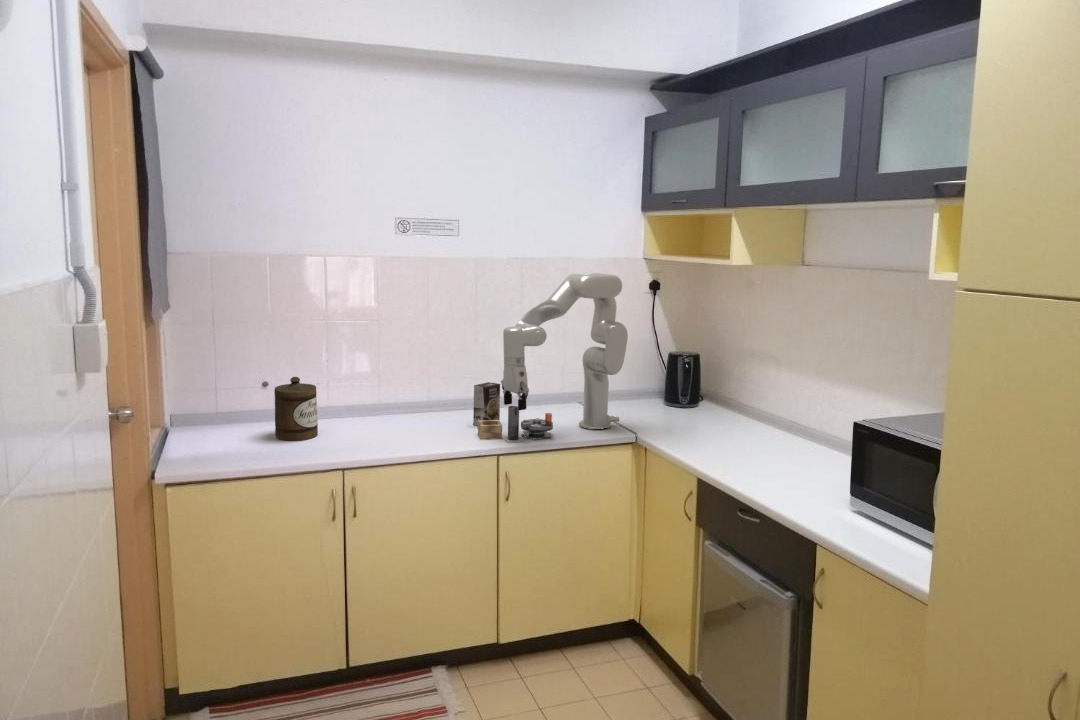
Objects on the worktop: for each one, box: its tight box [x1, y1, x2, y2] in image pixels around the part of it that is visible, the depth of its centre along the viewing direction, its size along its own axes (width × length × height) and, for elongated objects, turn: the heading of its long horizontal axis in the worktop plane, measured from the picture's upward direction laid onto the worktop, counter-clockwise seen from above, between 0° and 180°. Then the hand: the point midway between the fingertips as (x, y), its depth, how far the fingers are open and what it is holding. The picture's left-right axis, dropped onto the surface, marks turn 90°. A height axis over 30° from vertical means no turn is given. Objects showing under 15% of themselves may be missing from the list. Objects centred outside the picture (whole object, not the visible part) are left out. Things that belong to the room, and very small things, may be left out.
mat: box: [504, 435, 524, 443], centre depth 288 cm, size 6×6×1 cm
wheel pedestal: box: [522, 430, 552, 440], centre depth 295 cm, size 9×9×3 cm
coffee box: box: [472, 381, 501, 427], centre depth 308 cm, size 9×6×16 cm
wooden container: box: [273, 376, 319, 442], centre depth 286 cm, size 15×15×22 cm
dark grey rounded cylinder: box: [507, 405, 520, 440], centre depth 287 cm, size 4×4×12 cm
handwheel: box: [520, 412, 554, 432], centre depth 294 cm, size 12×12×6 cm
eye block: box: [477, 420, 503, 440], centre depth 292 cm, size 8×8×5 cm
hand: (515, 406), depth 287 cm, fingers open, 9 cm apart
